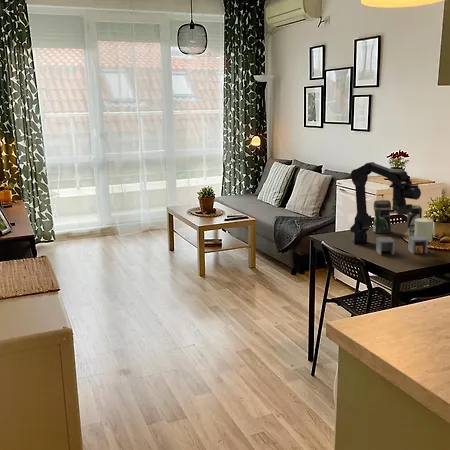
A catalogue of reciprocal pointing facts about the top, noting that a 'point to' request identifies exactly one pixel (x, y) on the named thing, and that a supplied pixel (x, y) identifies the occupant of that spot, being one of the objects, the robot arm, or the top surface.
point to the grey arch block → (417, 240)
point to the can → (424, 228)
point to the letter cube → (418, 248)
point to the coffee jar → (379, 221)
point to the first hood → (385, 245)
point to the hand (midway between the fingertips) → (398, 228)
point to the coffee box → (412, 225)
